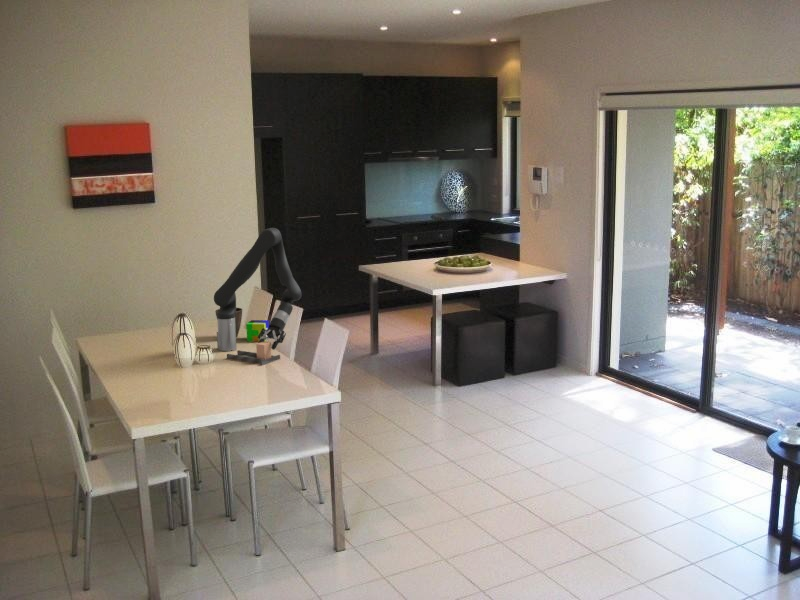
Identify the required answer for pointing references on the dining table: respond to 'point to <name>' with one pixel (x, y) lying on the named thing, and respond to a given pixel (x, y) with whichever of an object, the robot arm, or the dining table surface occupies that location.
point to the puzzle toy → (256, 329)
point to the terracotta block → (263, 350)
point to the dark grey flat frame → (250, 358)
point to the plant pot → (236, 319)
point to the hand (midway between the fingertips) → (265, 347)
